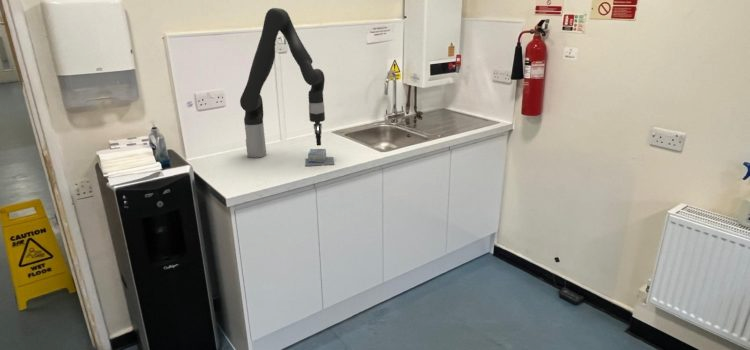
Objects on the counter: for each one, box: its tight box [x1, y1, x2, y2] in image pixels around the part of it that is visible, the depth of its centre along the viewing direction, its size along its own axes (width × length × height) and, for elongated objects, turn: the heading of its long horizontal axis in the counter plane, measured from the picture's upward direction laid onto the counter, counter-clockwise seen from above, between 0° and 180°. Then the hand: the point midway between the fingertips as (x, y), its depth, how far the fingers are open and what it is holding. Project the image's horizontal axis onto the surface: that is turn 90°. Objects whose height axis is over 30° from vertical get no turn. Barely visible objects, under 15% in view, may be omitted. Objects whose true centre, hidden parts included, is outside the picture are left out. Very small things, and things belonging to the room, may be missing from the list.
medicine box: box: [307, 148, 327, 162], centre depth 231 cm, size 8×4×9 cm
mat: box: [304, 156, 335, 167], centre depth 229 cm, size 14×11×1 cm
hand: (318, 145), depth 232 cm, fingers closed
